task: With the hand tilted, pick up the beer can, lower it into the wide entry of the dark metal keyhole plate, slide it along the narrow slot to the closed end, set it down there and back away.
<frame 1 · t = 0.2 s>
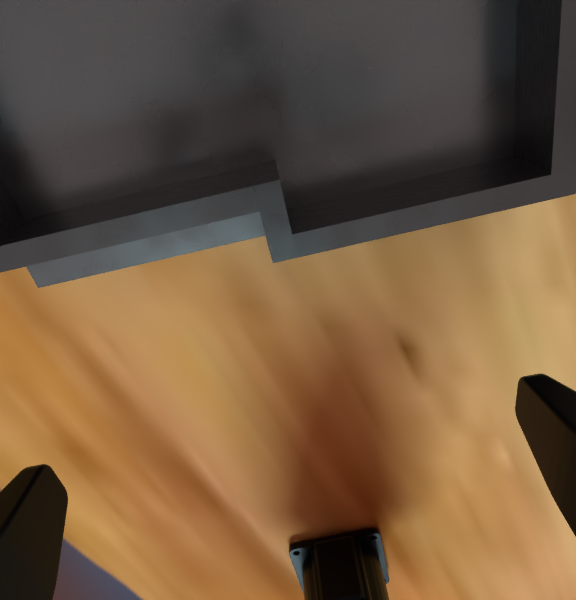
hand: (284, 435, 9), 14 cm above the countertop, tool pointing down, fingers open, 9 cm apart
keyhole plate: (224, 51, 19), on the countertop
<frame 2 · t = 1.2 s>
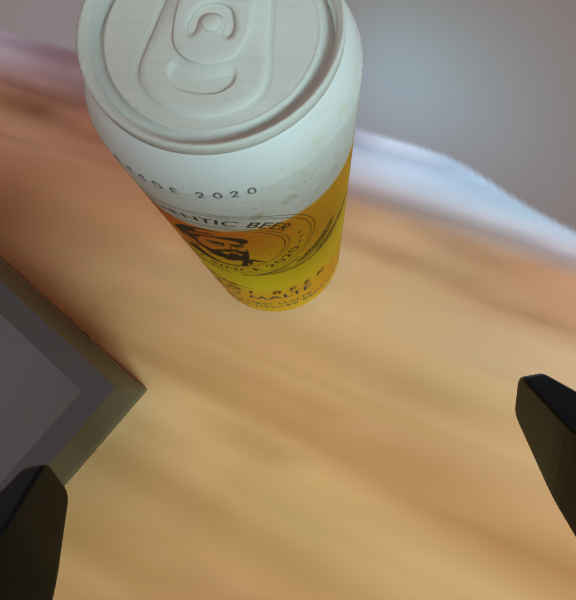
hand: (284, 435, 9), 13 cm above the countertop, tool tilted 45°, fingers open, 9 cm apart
beer can: (277, 255, 24), on the countertop
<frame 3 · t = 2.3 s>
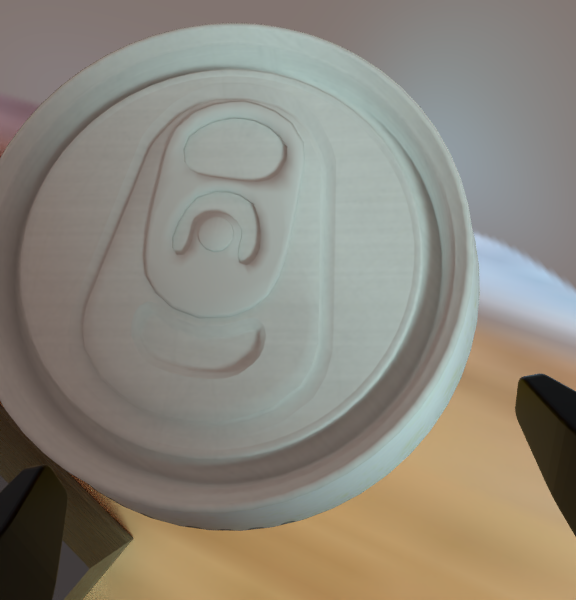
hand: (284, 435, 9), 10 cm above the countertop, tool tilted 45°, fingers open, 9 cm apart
beer can: (293, 365, 20), on the countertop
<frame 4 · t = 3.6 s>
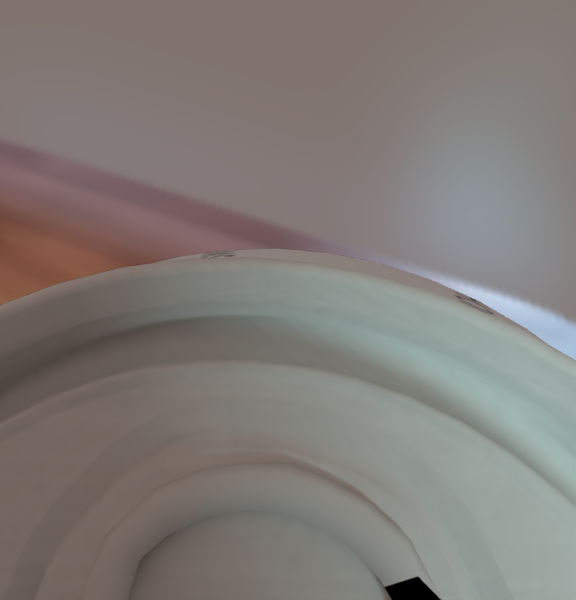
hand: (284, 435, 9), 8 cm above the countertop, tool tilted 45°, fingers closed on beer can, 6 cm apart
beer can: (308, 462, 16), on the countertop, touching gripper
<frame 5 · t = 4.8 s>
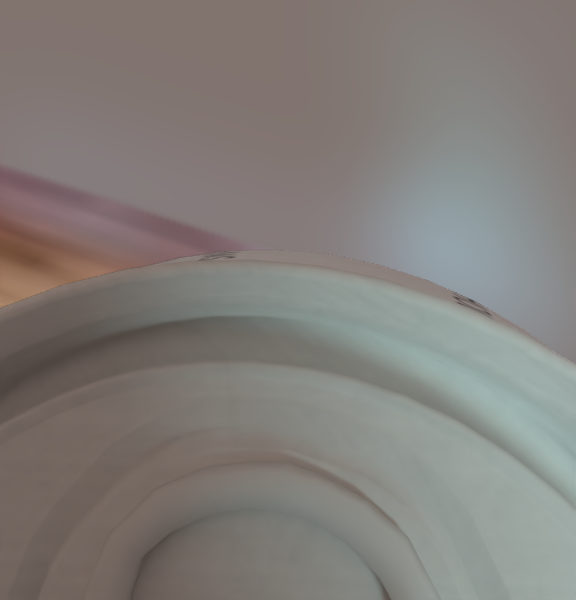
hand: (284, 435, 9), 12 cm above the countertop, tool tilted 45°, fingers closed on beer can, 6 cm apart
beer can: (308, 461, 17), point 4 cm above the countertop, touching gripper
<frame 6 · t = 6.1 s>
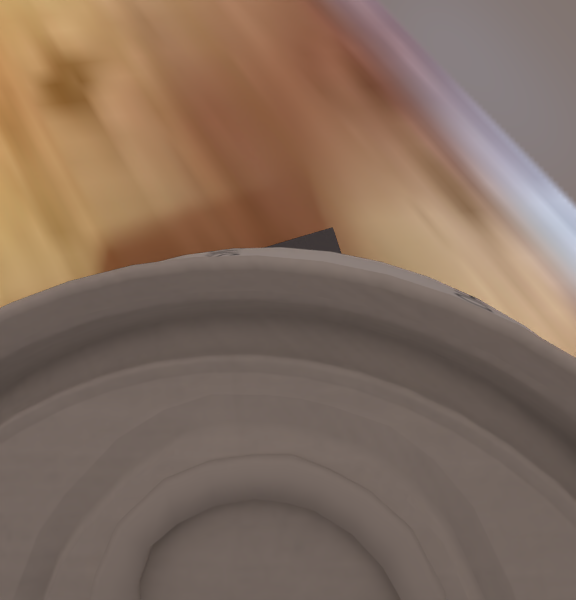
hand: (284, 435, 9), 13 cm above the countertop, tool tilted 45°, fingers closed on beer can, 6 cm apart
beer can: (308, 460, 17), point 5 cm above the countertop, touching gripper
keyhole plate: (127, 478, 22), on the countertop
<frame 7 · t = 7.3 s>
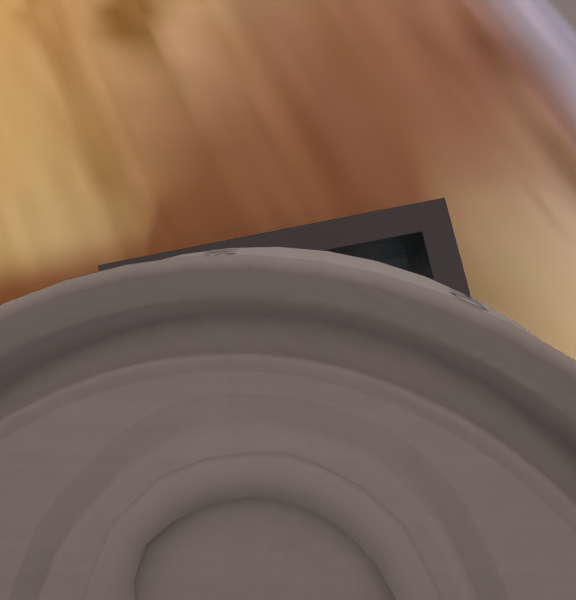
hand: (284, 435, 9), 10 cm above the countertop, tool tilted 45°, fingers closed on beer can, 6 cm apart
beer can: (308, 459, 17), point 2 cm above the countertop, touching gripper
keyhole plate: (159, 475, 19), on the countertop
when the fingers open (9 cm above the countertop, at t = 11.7 s): beer can stays where it is, resting on keyhole plate.
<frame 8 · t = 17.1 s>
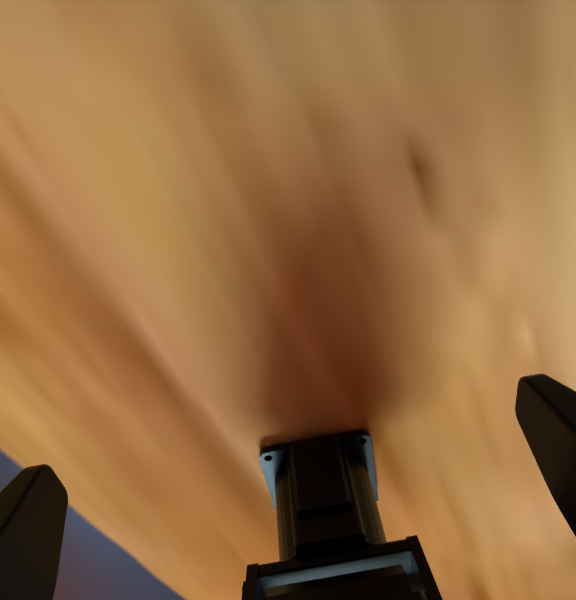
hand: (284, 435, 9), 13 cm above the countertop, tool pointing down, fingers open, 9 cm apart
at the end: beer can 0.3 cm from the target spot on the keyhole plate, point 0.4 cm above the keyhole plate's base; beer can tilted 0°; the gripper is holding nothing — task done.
